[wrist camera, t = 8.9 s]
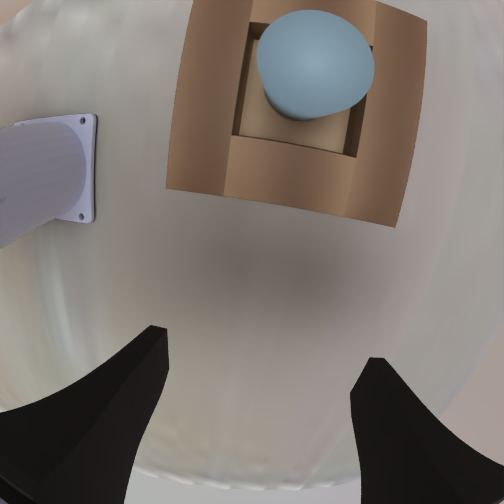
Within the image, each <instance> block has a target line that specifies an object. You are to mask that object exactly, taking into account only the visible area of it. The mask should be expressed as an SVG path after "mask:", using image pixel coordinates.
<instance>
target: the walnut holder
mask: <svg viewBox="0 0 504 504" xmlns="http://www.w3.org/2000/svg"><path fill="white" fill-rule="evenodd" d="M300 10H319V11H324V12H328V13H331V14H334V15H336V16H339V17H341V18H343V19H344V20H346V21H348V22H349V23H350V24H352V25H353V26H354V27H355V28H356V29H357V30H358V31H359V32H360V33H361V34H362V35H363V37H364V38H365V39H366V41H367V43H368V45H369V47H370V49H371V51H372V54H373V59H374V68H375V69H374V77H373V81H372V84H371V86H370V88H369V90H368V92H367V93H366V94H365V96H364V97H363V98H362V99H361V100H360V101H359V102H358V103H356V104H355V105H353V106H352V107H350V108H348V109H346V110H343V111H340V112H337V113H333V114H330V115H327V116H324V117H321V118H318V119H315V120H311V121H306V122H298V121H292V120H289V119H286V118H284V117H282V116H281V115H279V114H278V113H277V112H275V111H274V110H273V108H272V107H271V106H270V104H269V103H268V101H267V99H266V96H265V92H264V88H263V85H262V81H261V77H260V73H259V70H258V65H257V47H258V43H259V40H260V38H261V36H262V34H263V33H264V31H265V30H266V28H267V27H268V26H269V25H270V24H271V23H272V22H274V21H275V20H276V19H278V18H280V17H281V16H283V15H286V14H288V13H291V12H294V11H300ZM426 47H427V21H425V20H423V19H421V18H419V17H416V16H414V15H412V14H410V13H407V12H405V11H402V10H400V9H397V8H395V7H392V6H389V5H386V4H384V3H381V2H378V1H375V0H194V1H193V5H192V9H191V14H190V18H189V22H188V27H187V32H186V37H185V42H184V47H183V52H182V58H181V63H180V69H179V75H178V81H177V88H176V95H175V102H174V109H173V117H172V125H171V134H170V144H169V154H168V165H167V178H166V189H173V190H181V191H189V192H197V193H204V194H212V195H219V196H226V197H233V198H239V199H246V200H252V201H259V202H265V203H271V204H277V205H283V206H289V207H294V208H300V209H306V210H311V211H316V212H322V213H327V214H332V215H337V216H342V217H347V218H352V219H357V220H362V221H367V222H371V223H376V224H381V225H385V226H390V227H394V228H395V227H396V223H397V220H398V216H399V213H400V209H401V205H402V201H403V197H404V193H405V189H406V185H407V181H408V177H409V172H410V168H411V163H412V158H413V153H414V148H415V142H416V137H417V131H418V125H419V118H420V112H421V104H422V96H423V87H424V77H425V65H426Z"/></svg>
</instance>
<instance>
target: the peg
mask: <svg viewBox="0 0 504 504" xmlns="http://www.w3.org/2000/svg"><path fill="white" fill-rule="evenodd" d="M257 65H258V70H259V73H260V77H261V81H262V85H263V88H264V92H265V96H266V99H267V101H268V103H269V104H270V106H271V107H272V108H273V110H274V111H275V112H277V113H278V114H279V115H281V116H282V117H284V118H286V119H289V120H292V121H298V122H306V121H311V120H315V119H318V118H321V117H324V116H327V115H330V114H333V113H337V112H340V111H343V110H346V109H348V108H350V107H352V106H353V105H355V104H356V103H358V102H359V101H360V100H361V99H362V98H363V97H364V96H365V94H366V93H367V92H368V90H369V88H370V86H371V84H372V81H373V77H374V69H375V68H374V59H373V54H372V51H371V49H370V47H369V45H368V43H367V41H366V39H365V38H364V37H363V35H362V34H361V33H360V32H359V31H358V30H357V29H356V28H355V27H354V26H353V25H352V24H350V23H349V22H348V21H346V20H344V19H343V18H341V17H339V16H336V15H334V14H331V13H328V12H324V11H319V10H300V11H294V12H291V13H288V14H286V15H283V16H281V17H280V18H278V19H276V20H275V21H274V22H272V23H271V24H270V25H269V26H268V27H267V28H266V30H265V31H264V33H263V34H262V36H261V38H260V40H259V43H258V47H257Z"/></svg>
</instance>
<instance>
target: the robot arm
mask: <svg viewBox="0 0 504 504" xmlns="http://www.w3.org/2000/svg"><path fill="white" fill-rule="evenodd" d="M84 118H85V120H86V121H85V123H83V119H84ZM95 132H96V116H95V115H94V114H92V113H89V114H75V115H64V116H55V117H46V118H39V119H32V120H25V121H19V122H15V123H14V125H13V126H11V127H4V128H0V249H2V248H3V247H5V246H6V245H8V244H10V243H11V242H13V241H15V240H16V239H18V238H20V237H21V236H23V235H25V234H27V233H28V232H30V231H32V230H34V229H35V228H37V227H39V226H41V225H43V224H44V223H46V222H48V221H50V220H52V219H61V220H67V221H73V222H80V223H86V224H89V223H91V222H92V221H93V220H94V148H95ZM82 214H83V215H84V218H83V217H82ZM168 371H169V356H168V337H167V329H166V328H161V327H157V326H153V325H150V326H149V327H147V328H146V329H145V330H144V331H143V332H141V333H140V334H139V335H138V336H137V337H136V338H134V339H133V340H132V341H131V342H130V343H128V344H127V345H126V346H125V347H124V348H122V349H121V350H120V351H119V352H117V353H116V354H115V355H114V356H112V357H111V358H110V359H108V360H107V361H106V362H104V363H103V364H102V365H100V366H99V367H97V368H96V369H95V370H93V371H92V372H90V373H89V374H87V375H86V376H84V377H83V378H81V379H80V380H78V381H76V382H75V383H73V384H71V385H69V386H68V387H66V388H64V389H62V390H60V391H58V392H56V393H54V394H52V395H50V396H48V397H45V398H43V399H41V400H39V401H36V402H34V403H31V404H28V405H25V406H22V407H19V408H16V409H13V410H9V411H6V412H1V413H0V504H124V499H125V495H126V490H127V486H128V482H129V478H130V474H131V470H132V466H133V463H134V460H135V456H136V453H137V449H138V446H139V444H140V441H141V439H142V436H143V434H144V432H145V429H146V427H147V425H148V423H149V420H150V418H151V416H152V414H153V412H154V409H155V407H156V405H157V402H158V400H159V398H160V396H161V393H162V391H163V388H164V384H165V381H166V378H167V374H168ZM350 401H351V417H352V423H353V428H354V434H355V439H356V445H357V450H358V456H359V462H360V470H361V504H499V503H500V502H502V501H503V500H504V466H503V465H500V464H498V463H496V462H494V461H492V460H491V459H489V458H487V457H485V456H484V455H482V454H480V453H479V452H477V451H476V450H474V449H473V448H471V447H470V446H469V445H467V444H466V443H464V442H463V441H462V440H460V439H459V438H458V437H457V436H456V435H454V434H453V433H452V432H451V431H450V430H449V429H448V428H447V427H445V426H444V425H443V424H442V423H441V422H440V421H439V420H438V419H437V418H436V417H435V416H434V415H433V414H432V413H431V412H430V411H429V410H428V408H427V407H426V406H425V405H424V404H423V403H422V402H421V401H420V400H419V398H418V397H417V396H416V395H415V394H414V393H413V391H412V390H411V389H410V388H409V387H408V385H407V384H406V383H405V382H404V381H403V379H402V378H401V377H400V376H399V375H398V373H397V372H396V371H395V370H394V369H393V367H392V366H391V365H390V364H389V363H388V362H387V361H386V360H385V359H384V358H373V357H370V358H369V360H368V362H367V363H366V365H365V367H364V369H363V371H362V373H361V375H360V376H359V378H358V380H357V382H356V384H355V385H354V387H353V389H352V391H351V392H350Z"/></svg>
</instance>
